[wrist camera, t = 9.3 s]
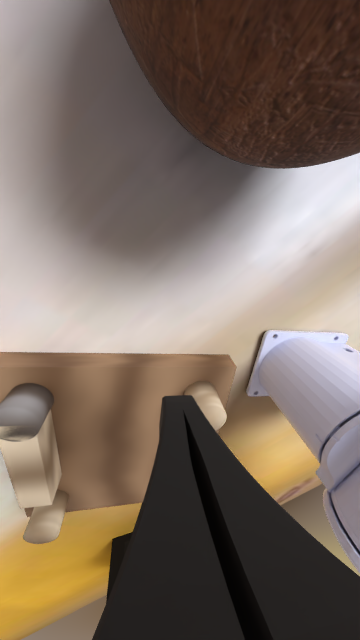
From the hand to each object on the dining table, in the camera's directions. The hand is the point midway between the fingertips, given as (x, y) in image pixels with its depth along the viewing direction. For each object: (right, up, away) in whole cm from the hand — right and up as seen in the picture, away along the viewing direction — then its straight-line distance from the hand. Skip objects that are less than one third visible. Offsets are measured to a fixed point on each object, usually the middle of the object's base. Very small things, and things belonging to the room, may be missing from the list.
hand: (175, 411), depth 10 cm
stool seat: (-6, -8, +13) cm, 16 cm away
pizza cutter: (-12, -6, +9) cm, 16 cm away
